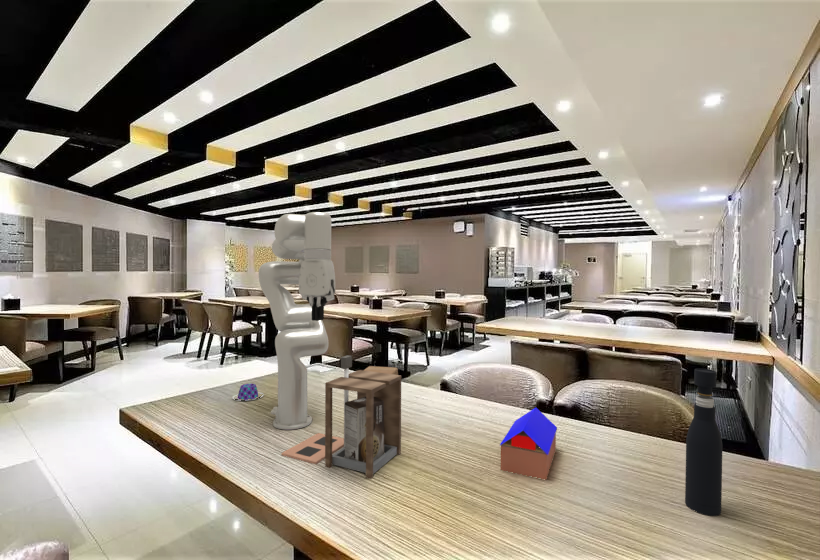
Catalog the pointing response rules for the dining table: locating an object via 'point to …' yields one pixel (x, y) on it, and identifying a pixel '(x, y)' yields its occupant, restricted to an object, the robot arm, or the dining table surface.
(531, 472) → the house
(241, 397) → the purple checkered hat
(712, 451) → the wine bottle
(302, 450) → the board
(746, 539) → the dining table surface
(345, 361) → the cradle
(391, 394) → the brown wooden stand
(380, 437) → the coffee box
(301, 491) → the dining table surface
